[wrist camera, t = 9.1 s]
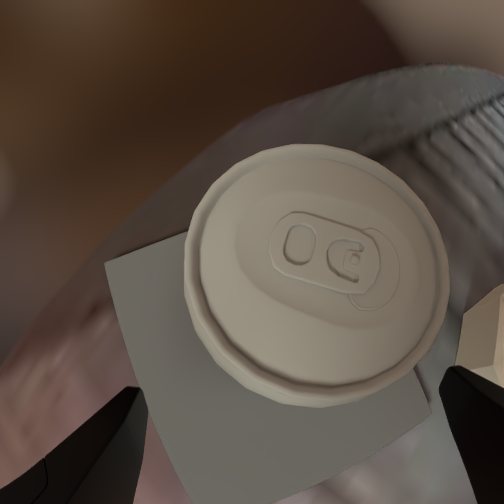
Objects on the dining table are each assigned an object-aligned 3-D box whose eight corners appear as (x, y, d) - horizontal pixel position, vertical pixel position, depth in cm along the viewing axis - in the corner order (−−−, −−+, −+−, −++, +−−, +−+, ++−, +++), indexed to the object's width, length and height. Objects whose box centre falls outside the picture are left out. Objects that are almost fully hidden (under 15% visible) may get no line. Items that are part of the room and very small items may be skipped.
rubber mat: (425, 413, 15) (432, 413, 14) (205, 518, 12) (204, 524, 11) (312, 194, 21) (315, 187, 20) (109, 268, 18) (104, 263, 17)
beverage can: (300, 404, 15) (434, 432, 4) (209, 377, 15) (125, 348, 4) (324, 317, 16) (454, 185, 6) (239, 291, 17) (235, 114, 6)
